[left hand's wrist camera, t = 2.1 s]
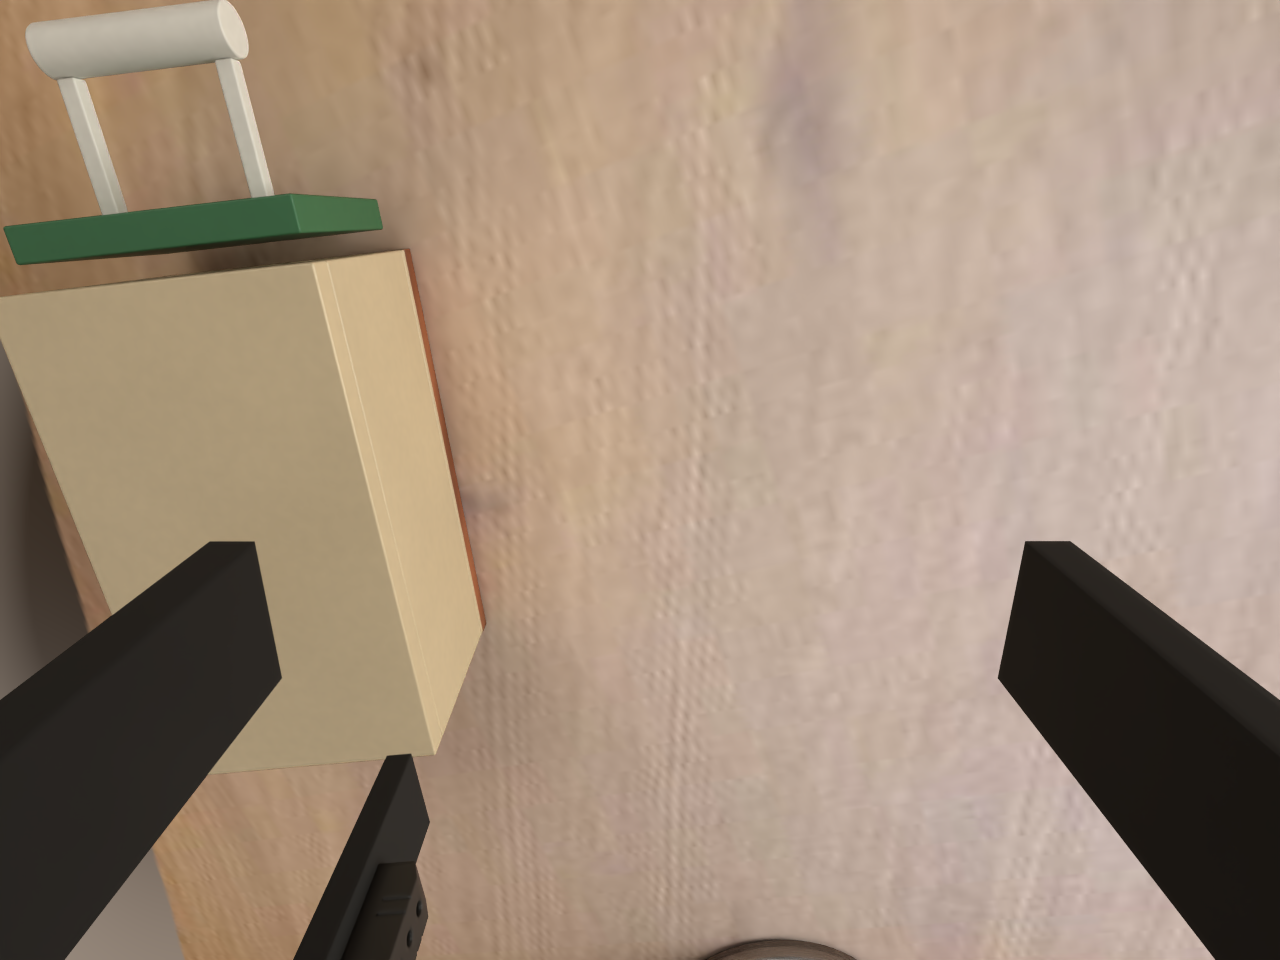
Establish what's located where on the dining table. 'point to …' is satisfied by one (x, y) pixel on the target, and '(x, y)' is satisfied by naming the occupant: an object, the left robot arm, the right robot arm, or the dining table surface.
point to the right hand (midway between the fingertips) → (194, 806)
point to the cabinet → (272, 479)
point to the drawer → (116, 233)
